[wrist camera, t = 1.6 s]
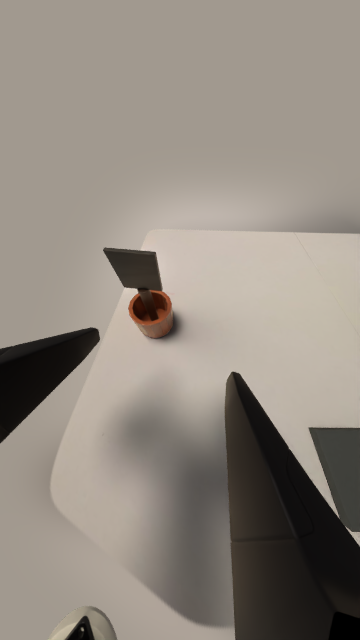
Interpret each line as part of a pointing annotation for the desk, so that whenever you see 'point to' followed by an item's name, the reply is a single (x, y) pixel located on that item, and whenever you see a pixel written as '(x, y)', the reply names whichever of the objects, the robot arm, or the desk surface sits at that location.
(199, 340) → the desk surface
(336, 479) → the mat
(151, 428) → the desk surface
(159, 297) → the crock
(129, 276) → the spatula
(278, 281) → the desk surface
